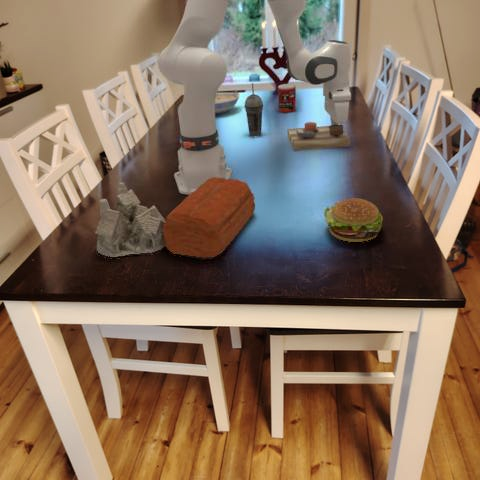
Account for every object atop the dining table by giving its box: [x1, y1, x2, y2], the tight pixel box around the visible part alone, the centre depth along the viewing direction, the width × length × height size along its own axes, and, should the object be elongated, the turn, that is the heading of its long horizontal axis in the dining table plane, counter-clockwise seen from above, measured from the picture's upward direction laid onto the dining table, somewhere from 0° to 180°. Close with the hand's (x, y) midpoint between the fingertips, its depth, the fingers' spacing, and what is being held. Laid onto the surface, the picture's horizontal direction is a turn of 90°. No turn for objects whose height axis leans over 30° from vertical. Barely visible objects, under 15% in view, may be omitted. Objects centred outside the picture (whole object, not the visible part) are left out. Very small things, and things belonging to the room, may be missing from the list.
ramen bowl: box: [215, 89, 246, 115], centre depth 214 cm, size 25×23×8 cm
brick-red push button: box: [304, 121, 318, 132], centre depth 173 cm, size 4×4×2 cm
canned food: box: [277, 83, 297, 114], centre depth 207 cm, size 8×8×11 cm
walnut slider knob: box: [329, 124, 344, 135], centre depth 166 cm, size 2×4×3 cm, turn 93°
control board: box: [286, 125, 351, 152], centre depth 171 cm, size 16×20×4 cm
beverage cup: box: [244, 82, 264, 138], centre depth 178 cm, size 7×7×20 cm
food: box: [323, 197, 383, 243], centre depth 112 cm, size 14×14×8 cm
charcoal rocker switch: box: [296, 130, 315, 137], centre depth 166 cm, size 4×6×1 cm, turn 93°
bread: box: [163, 177, 256, 258], centre depth 116 cm, size 16×27×11 cm, turn 158°
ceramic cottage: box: [94, 182, 166, 257], centre depth 111 cm, size 16×16×15 cm
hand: (334, 129), depth 169 cm, fingers closed
